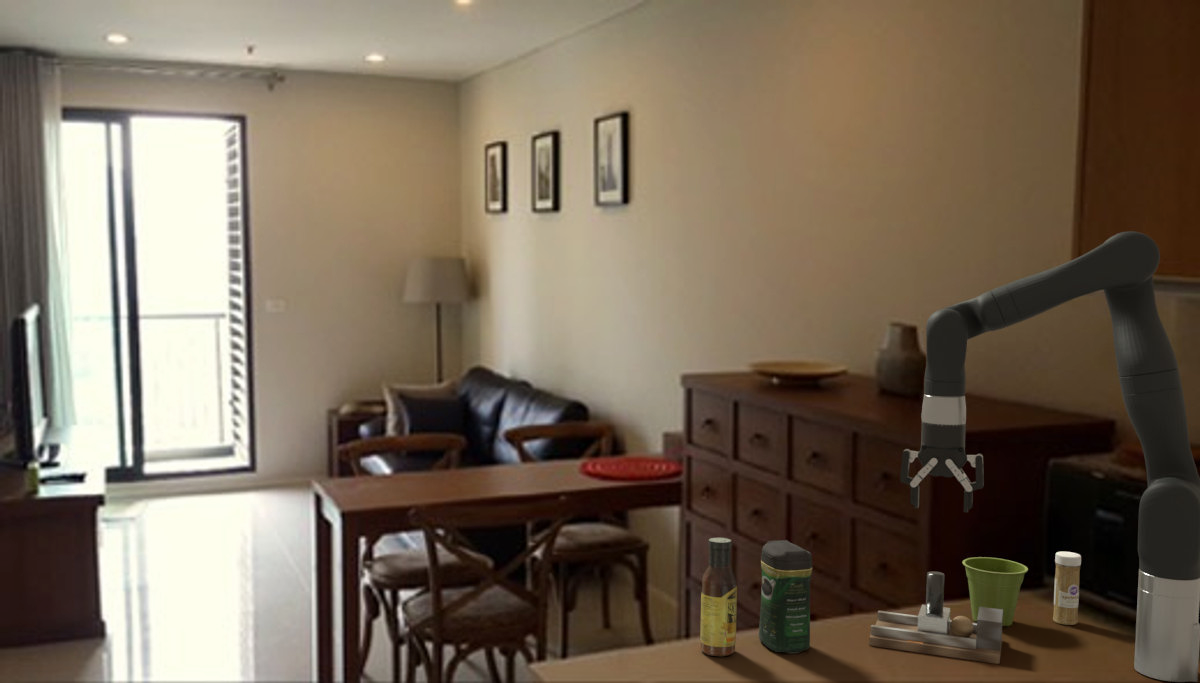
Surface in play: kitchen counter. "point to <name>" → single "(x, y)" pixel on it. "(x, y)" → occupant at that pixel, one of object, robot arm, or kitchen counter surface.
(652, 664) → the kitchen counter surface
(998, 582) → the plant pot
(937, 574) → the sliding jaw
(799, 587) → the coffee jar
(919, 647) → the board
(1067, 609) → the sprinkles bottle
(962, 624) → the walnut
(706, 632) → the sauce bottle
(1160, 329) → the robot arm
